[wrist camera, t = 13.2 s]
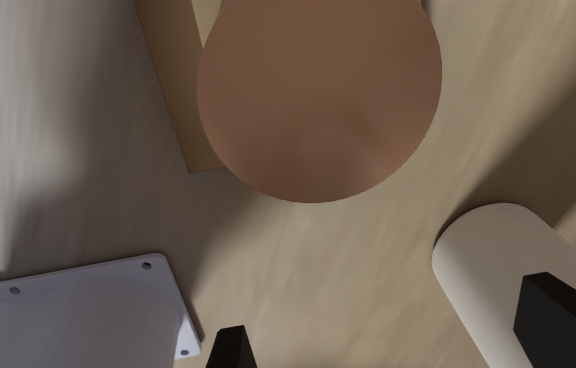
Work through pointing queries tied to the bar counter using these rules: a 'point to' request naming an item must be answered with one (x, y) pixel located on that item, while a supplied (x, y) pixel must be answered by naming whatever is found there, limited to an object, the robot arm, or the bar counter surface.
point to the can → (497, 272)
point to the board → (179, 73)
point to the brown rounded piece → (318, 92)
